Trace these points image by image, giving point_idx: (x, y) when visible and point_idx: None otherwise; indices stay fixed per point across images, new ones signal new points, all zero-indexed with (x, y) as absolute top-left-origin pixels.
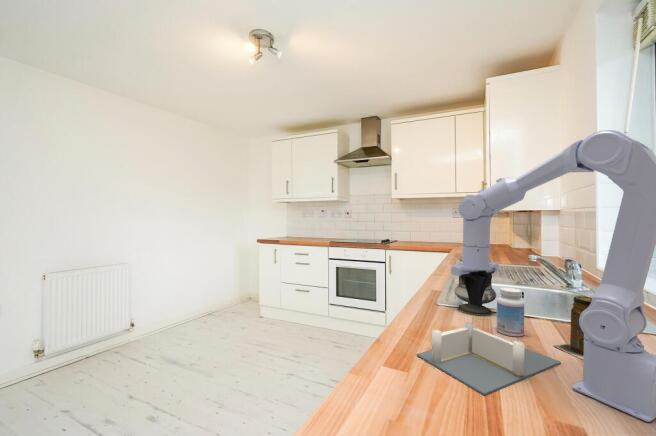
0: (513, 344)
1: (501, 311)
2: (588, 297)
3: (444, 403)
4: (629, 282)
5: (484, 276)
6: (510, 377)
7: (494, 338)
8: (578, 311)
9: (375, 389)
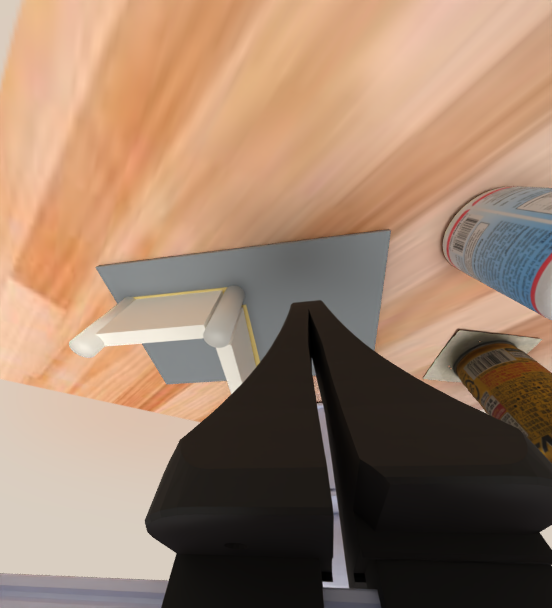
0: None
1: (511, 254)
2: None
3: (106, 376)
4: None
5: (347, 566)
6: None
7: (230, 389)
8: (549, 455)
9: (4, 332)
